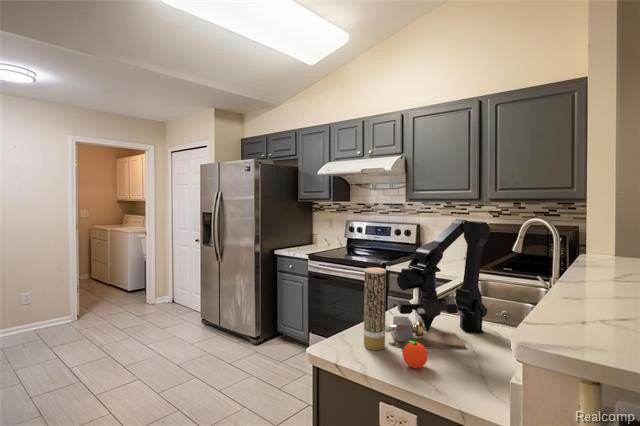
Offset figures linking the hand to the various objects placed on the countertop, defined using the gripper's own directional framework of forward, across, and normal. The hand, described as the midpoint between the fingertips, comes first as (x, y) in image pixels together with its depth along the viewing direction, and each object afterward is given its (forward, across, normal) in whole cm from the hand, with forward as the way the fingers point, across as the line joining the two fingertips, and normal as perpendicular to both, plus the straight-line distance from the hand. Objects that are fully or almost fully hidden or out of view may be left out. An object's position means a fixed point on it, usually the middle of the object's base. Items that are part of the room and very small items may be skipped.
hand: (427, 332), depth 116 cm
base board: (+3, 0, 0) cm, 3 cm away
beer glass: (+3, +2, +14) cm, 15 cm away
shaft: (+1, -8, 0) cm, 8 cm away
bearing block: (+3, -8, 0) cm, 9 cm away
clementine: (+3, -9, -17) cm, 19 cm away
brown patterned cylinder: (+3, -18, -5) cm, 19 cm away
